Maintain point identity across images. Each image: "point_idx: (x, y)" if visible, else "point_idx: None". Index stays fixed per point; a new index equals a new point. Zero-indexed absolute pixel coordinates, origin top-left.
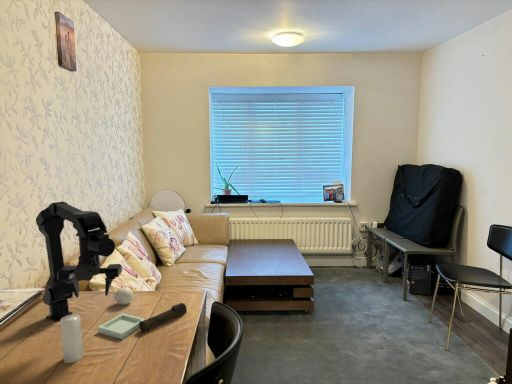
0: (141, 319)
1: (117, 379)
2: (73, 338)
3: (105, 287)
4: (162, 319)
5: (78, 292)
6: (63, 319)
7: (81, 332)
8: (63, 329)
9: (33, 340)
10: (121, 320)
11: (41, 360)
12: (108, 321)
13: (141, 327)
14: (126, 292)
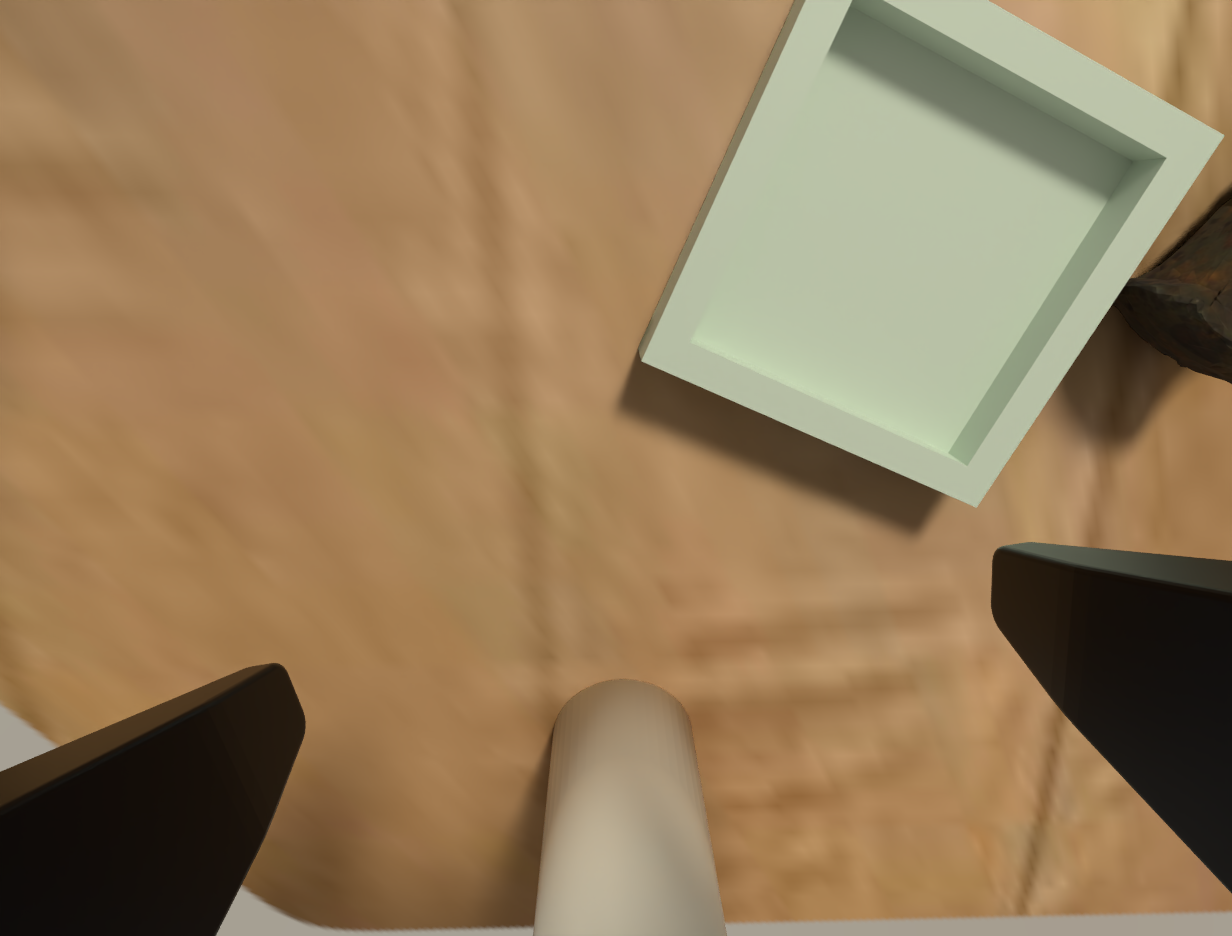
0: (1164, 150)
1: (1031, 916)
2: None
3: (1228, 886)
4: None
5: (231, 729)
6: None
7: (718, 902)
8: None
9: (47, 506)
10: (842, 84)
11: (388, 768)
12: (717, 212)
13: (1170, 347)
14: None
